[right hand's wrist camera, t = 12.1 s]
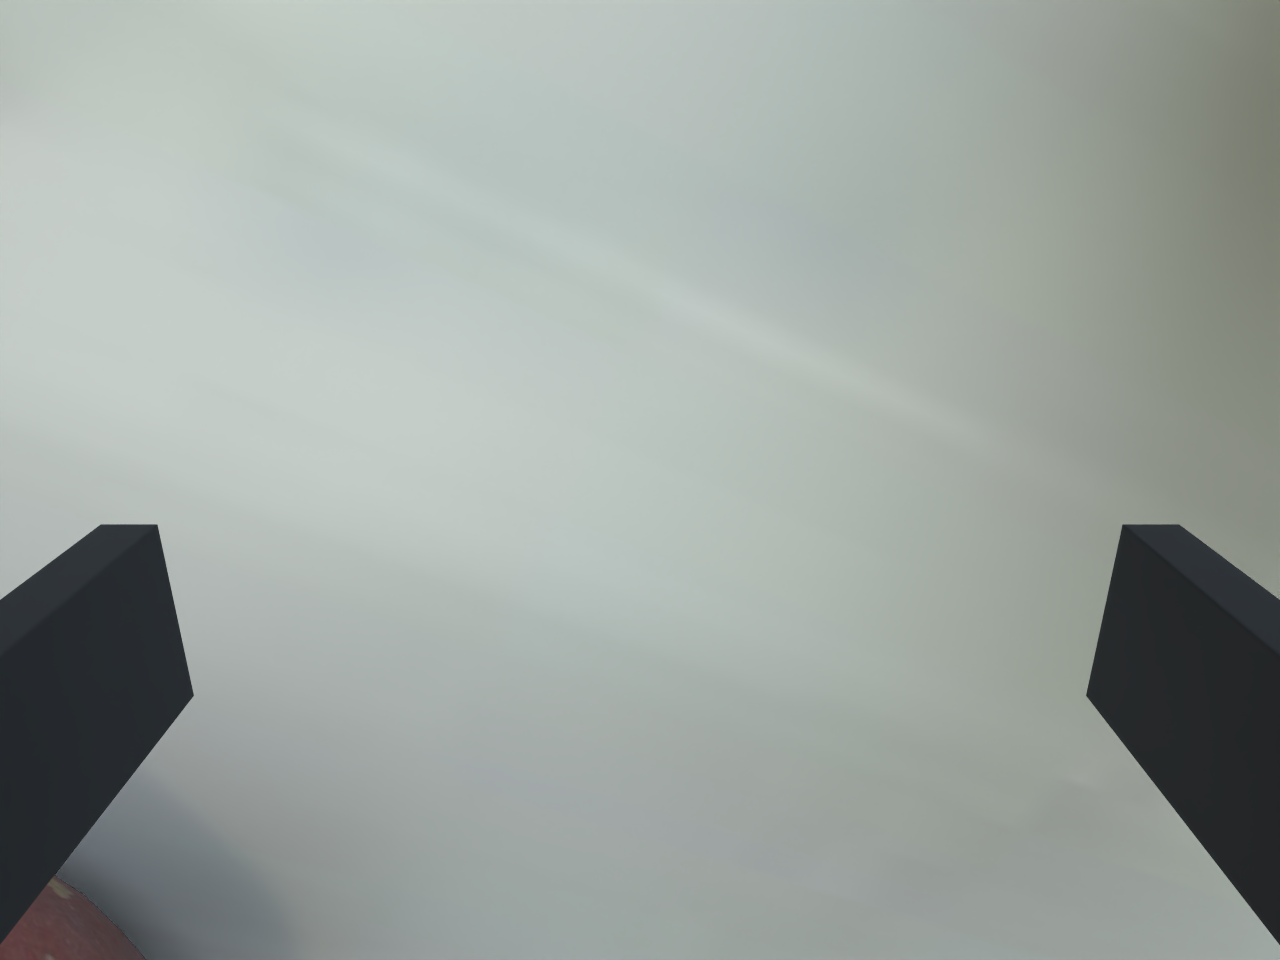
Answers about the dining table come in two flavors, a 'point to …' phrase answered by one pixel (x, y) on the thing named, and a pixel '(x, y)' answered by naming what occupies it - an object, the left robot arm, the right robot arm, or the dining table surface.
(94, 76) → the dining table surface
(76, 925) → the clay pot
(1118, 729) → the right robot arm
